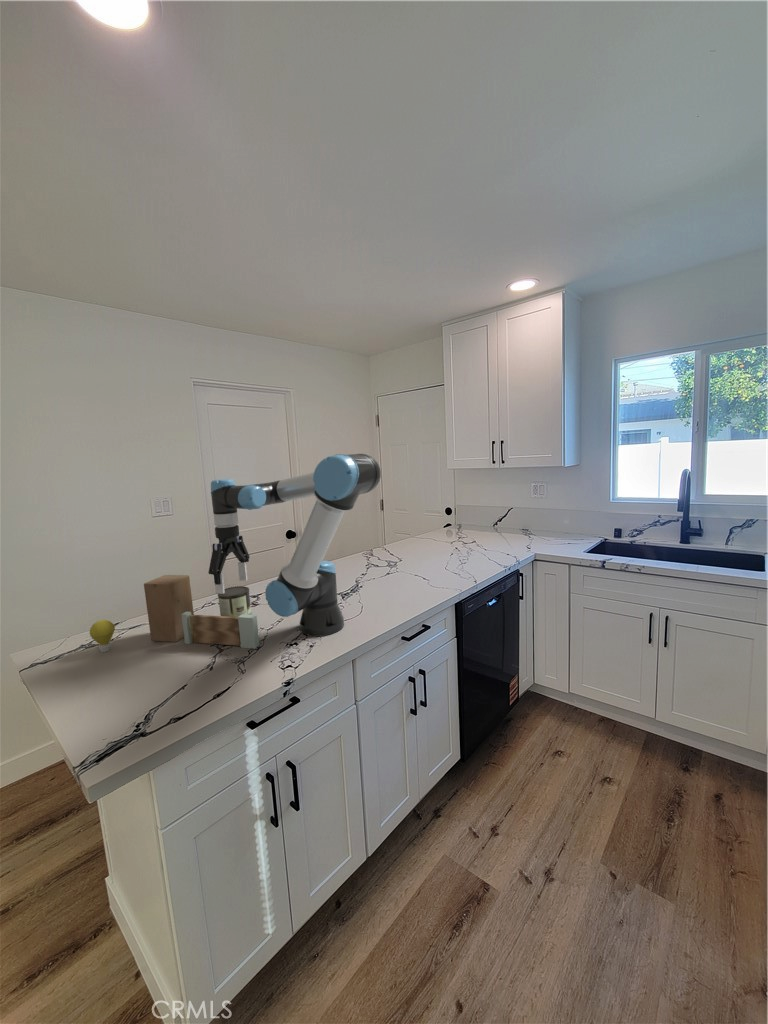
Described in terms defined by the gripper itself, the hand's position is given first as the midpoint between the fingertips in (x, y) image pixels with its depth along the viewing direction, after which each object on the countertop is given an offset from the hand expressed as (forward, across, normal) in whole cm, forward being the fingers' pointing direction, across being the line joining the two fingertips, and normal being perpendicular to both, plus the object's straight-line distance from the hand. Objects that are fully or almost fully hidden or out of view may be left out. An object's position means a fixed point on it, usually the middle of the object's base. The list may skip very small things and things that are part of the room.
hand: (232, 586), depth 144 cm
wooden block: (+16, +7, -20) cm, 26 cm away
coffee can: (+16, 0, 0) cm, 16 cm away
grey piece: (+16, +11, +2) cm, 19 cm away
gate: (+15, +11, 0) cm, 19 cm away
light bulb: (+16, +20, -35) cm, 43 cm away
